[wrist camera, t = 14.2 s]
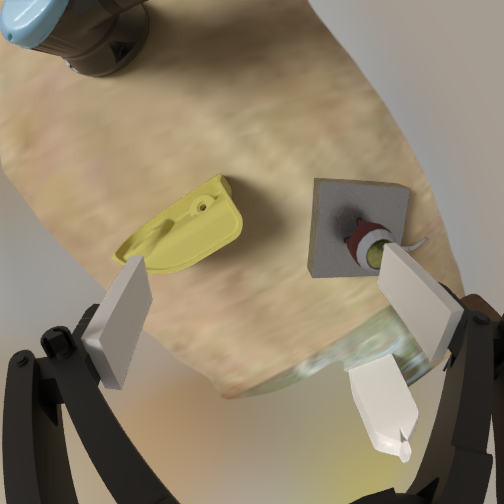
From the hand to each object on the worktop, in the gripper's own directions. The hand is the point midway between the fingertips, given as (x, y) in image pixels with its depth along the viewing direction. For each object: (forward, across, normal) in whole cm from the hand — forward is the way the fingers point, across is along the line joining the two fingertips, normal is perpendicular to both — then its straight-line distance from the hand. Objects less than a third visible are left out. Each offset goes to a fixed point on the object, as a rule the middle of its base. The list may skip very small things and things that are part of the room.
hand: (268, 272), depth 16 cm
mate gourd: (+29, +18, -10) cm, 36 cm away
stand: (+33, +19, -10) cm, 39 cm away
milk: (+31, +30, -51) cm, 67 cm away
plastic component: (+33, -10, -8) cm, 36 cm away
